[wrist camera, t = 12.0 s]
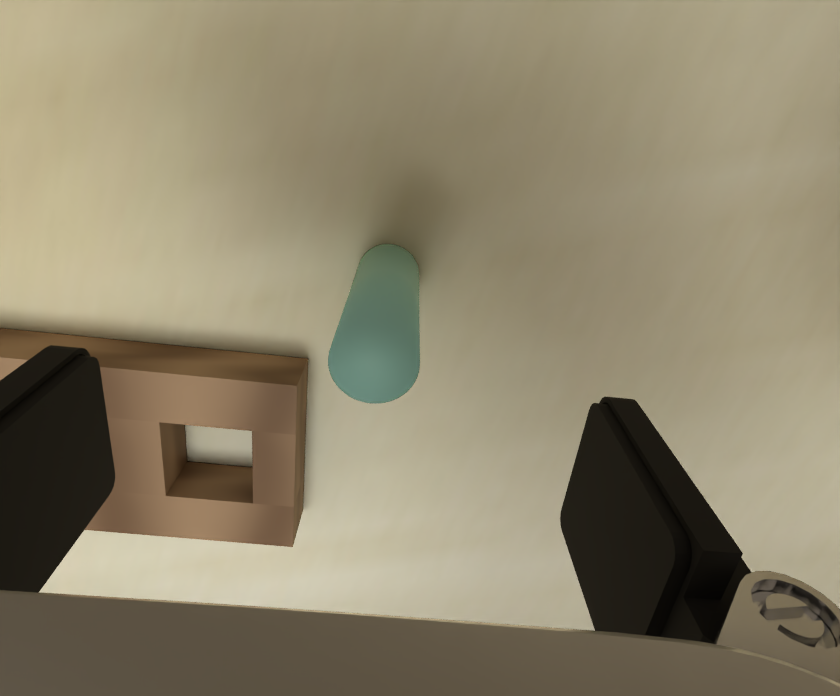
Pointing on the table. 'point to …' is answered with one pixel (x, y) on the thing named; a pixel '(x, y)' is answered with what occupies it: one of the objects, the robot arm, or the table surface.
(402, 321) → the pin
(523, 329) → the table surface
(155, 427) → the pin board
